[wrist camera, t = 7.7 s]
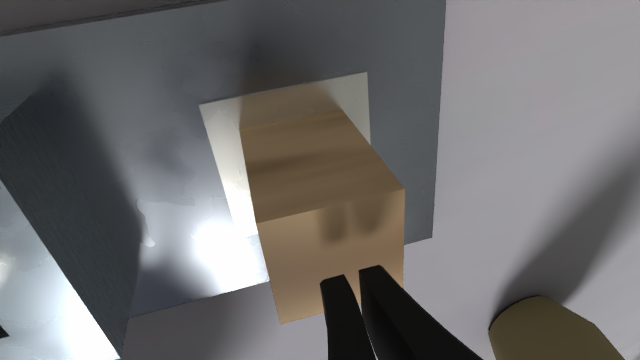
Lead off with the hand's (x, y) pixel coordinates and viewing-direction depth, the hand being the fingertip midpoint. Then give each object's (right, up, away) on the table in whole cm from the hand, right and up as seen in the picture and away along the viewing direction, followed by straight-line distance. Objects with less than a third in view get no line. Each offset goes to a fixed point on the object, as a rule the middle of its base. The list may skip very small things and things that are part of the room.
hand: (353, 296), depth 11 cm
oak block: (-2, +4, +7) cm, 8 cm away
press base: (-8, +3, +7) cm, 11 cm away
